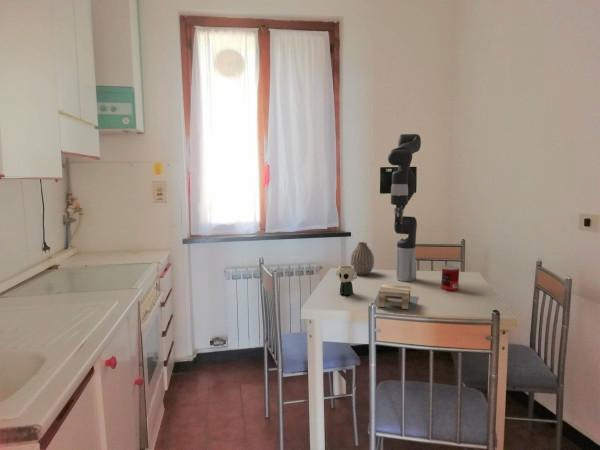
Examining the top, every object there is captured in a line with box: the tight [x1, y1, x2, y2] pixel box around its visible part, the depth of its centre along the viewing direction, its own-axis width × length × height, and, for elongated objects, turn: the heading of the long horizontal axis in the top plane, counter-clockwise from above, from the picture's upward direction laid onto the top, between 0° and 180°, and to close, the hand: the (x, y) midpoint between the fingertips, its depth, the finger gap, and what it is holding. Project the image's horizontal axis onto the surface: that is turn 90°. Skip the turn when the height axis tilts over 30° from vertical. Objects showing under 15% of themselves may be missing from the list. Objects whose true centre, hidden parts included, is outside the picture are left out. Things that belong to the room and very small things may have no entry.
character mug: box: [335, 264, 358, 296], centre depth 206 cm, size 11×7×13 cm, turn 52°
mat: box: [373, 293, 419, 313], centre depth 192 cm, size 23×18×1 cm
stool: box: [378, 283, 411, 310], centre depth 188 cm, size 7×12×12 cm
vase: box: [349, 241, 375, 276], centre depth 246 cm, size 13×13×18 cm
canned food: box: [441, 264, 460, 292], centre depth 213 cm, size 8×8×11 cm
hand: (398, 231), depth 204 cm, fingers closed
